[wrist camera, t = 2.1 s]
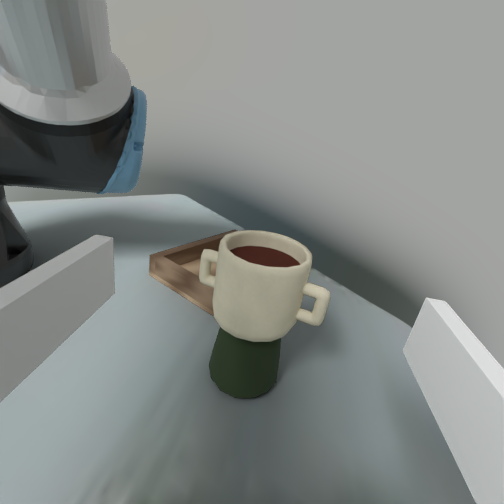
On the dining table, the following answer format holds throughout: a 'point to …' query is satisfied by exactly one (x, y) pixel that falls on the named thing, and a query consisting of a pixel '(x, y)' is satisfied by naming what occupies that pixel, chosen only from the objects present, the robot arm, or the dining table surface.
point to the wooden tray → (186, 270)
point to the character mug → (257, 306)
